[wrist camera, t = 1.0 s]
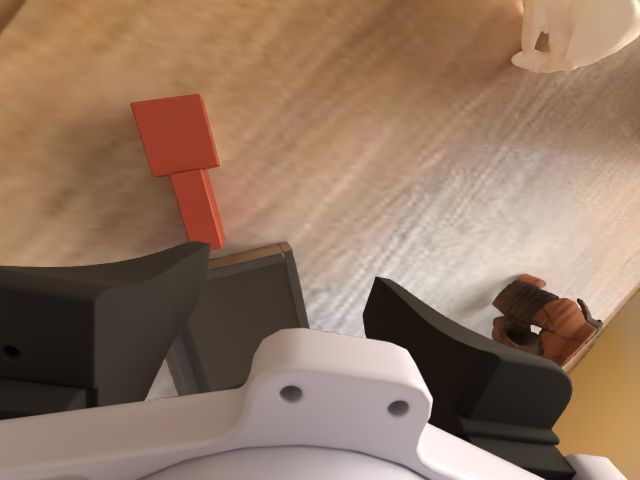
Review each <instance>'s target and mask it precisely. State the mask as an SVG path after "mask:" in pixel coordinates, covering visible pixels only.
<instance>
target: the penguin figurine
mask: <svg viewBox="0 0 640 480" xmlns="http://www.w3.org/2000/svg"><path fill="white" fill-rule="evenodd" d="M523 6H524V16H523V24H522V39H521V46H522V51H521V52H519V53H517V54H515V55H514V56H513V57H512V59H511V62H512V64H513V65H515V66H517V67H521V68H524V69H528V70H531V71H532V72H541V73H547V72H555V71H559V70H570V71H571V70H574V69H576V68H578V67H581V66H585V65H590V64H593V63H595V62H597V61H598V60H600V59H602V58H604V57H606V56H608V55H611V54H614V53H616V52H617V51H619V50H620V49H621V48H623V47H624V46H625V45H627V44H628V43H630V42H632V41H633V40H634V39H635V38H637V37H638V36H639V35H640V0H523ZM541 31H543V32H544V33H545V34H548V33H549V41H548V50H549V52H546V53H545V52H540V51H538V50H535V49H534V48H535V44H536V41H537V39H538V37H539V35H540V33H541Z"/></svg>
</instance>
